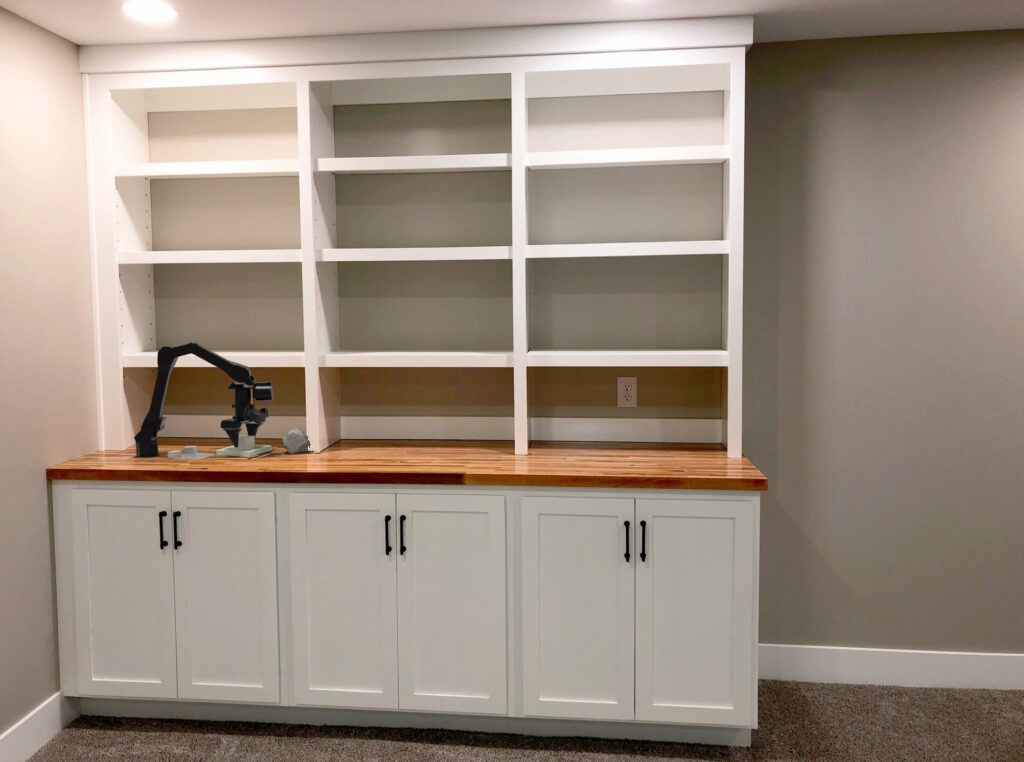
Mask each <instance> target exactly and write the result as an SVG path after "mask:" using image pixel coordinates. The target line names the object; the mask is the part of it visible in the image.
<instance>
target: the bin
mask: <svg viewBox="0 0 1024 762" xmlns="http://www.w3.org/2000/svg"><path fill="white" fill-rule="evenodd" d="M272 453H273V445H270V444H269V445H267V444H255V450H251V451H235V450H234V445H230V446H227V447H223V448H219V449H216V450H215V454H216V455H217V456H230V457H231V456H232V457H233V456H235V457H247V460H252V459H256V458H259V457H262V456H265V455H268V454H272Z"/></svg>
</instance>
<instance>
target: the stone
mask: <svg viewBox="0 0 1024 762" xmlns="http://www.w3.org/2000/svg"><path fill="white" fill-rule="evenodd" d="M308 438H309V436H308V435H307V434H305V432H304V430H303V428H302V427H297V428H291V429H290V430H288V431H286V432H285V433H284V434H283V436H282V437H281V442H282V444H283V447H284V449H285V450H286V451H287V453H289V454H290V455H294V454H298V453H302V452H303V453H305V452H309V451H308V446H309V448H310V445H311V444H310V441H309V440H308Z"/></svg>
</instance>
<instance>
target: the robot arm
mask: <svg viewBox="0 0 1024 762" xmlns="http://www.w3.org/2000/svg"><path fill="white" fill-rule="evenodd" d="M191 354H192V355H194V356H195V357H197V358H200V359H201V360H202V361H204V362H206V363H209V365H212V366H214V367H216V368H217V369H220V370H222V372H224V373H225V374H226V375H227V376H228V377H229V378H231V379H232V380H233V381H232V382H231V384H230V385H229V386H227V389H228V390H233V396H234V397H233V400H234V402H233V403H234V404H231V408H232V409H233V408H234V415H232V416H231V418H227V419H225V418H224V419H222V420H221V421H220V425H219V426H220V428H221V429H222V430H223V431H225V433H226V434H227V436H228V438H229V439H230V441H231V442H232V444H233V445H232V446H234V447H238V442H239V436H240V432H241V431H242V429H243V428H242V425H243V424H245V427H246V432H247V435H251V436H254V438H255V439H256V435H257V433H258V429H259V428H260V427H261V426H262V425H263V424H264V423H265V422H266V419H267V418H269V410H268V408H266V407H261V408H256V406H255V403H252V399H255V401H256V402H270V401H271V402H272V401H274V389H273V382H272V381H271V380H270V381H262V382H261V381H259V382H258V381H257V380H256V378H255V377H254V376H253V375H252V371H251V368H250V366H248V365H244V364H241V363H239V362H235V361H232V360H229V359H227V358H225V357H223V356H221V355H220V354H218V353H216V352H214V351H213V350H210V349H208V348H207V347H204V346H203V345H201V344H200V343H198V341H190V342H188V343H186V344H182V345H178V346H174V345H165V346H163V347H161V348H159V350H157V358H156V360H157V361H156V363H157V375H156V379H155V382H154V383H155V384H154V388H153V393H152V397H151V401H150V406H149V409H148V412H147V414H146V415H145V417H144V419H143V422H142V424H141V426H140V430H139V432H138V433H136V435H135V436H134V437H133V438H134V442H135V448H136V450H135V451H136V457H138V458H148V457H149V458H154V457H158V456H159V444H158V440H157V437H158V434H160V433H161V432H162V430H164V429H165V428H166V427H165V424H166V421H167V418H168V417H167V416H164V415H163V409H164V404H165V400H166V396H167V391H168V387H169V382H170V378H171V374H172V371H173V370H174V368H175V366H176V364H177V361H178V359H179V357H184V356H188V355H191ZM236 382H237V383H236ZM246 385H247V386H246Z"/></svg>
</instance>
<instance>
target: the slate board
mask: <svg viewBox="0 0 1024 762" xmlns="http://www.w3.org/2000/svg"><path fill="white" fill-rule="evenodd" d="M215 455H216V453H210V452H208V453H207V452H198V446H197V445H186V446H184V447H183V451H182V450H179V449H176V450H169V451H167V458H168V459H178V460H179V459H182V460H196V461H198V460H202V459H205V458H208V457H212V456H215Z"/></svg>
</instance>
